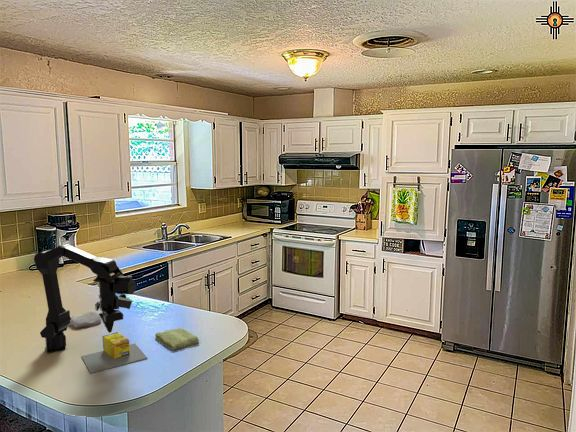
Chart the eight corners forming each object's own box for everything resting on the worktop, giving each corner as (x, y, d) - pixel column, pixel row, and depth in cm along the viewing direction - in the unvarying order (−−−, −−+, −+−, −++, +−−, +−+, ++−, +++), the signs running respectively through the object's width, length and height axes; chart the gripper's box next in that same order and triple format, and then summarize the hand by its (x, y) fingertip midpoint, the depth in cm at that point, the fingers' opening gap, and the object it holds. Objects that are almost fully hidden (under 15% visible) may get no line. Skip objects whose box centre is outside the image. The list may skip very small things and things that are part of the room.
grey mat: (90, 373, 152) (90, 372, 152) (81, 357, 165) (81, 356, 165) (147, 358, 164) (147, 357, 164) (135, 344, 177) (134, 343, 176)
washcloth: (181, 331, 191) (181, 324, 191) (201, 344, 178) (200, 336, 177) (152, 339, 183) (152, 331, 182) (171, 353, 169) (170, 345, 169)
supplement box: (117, 331, 173) (129, 339, 166) (117, 345, 174) (130, 354, 167) (102, 335, 169) (114, 344, 162) (102, 350, 170) (115, 359, 162)
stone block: (103, 326, 201) (94, 317, 207) (103, 317, 199) (94, 308, 206) (76, 334, 192) (68, 324, 199) (76, 325, 191) (68, 315, 198)
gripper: (136, 295, 162) (138, 335, 164) (122, 283, 178) (124, 320, 180) (105, 300, 156) (107, 342, 158) (93, 288, 171) (96, 326, 173)
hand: (109, 332), depth 167 cm, fingers closed
